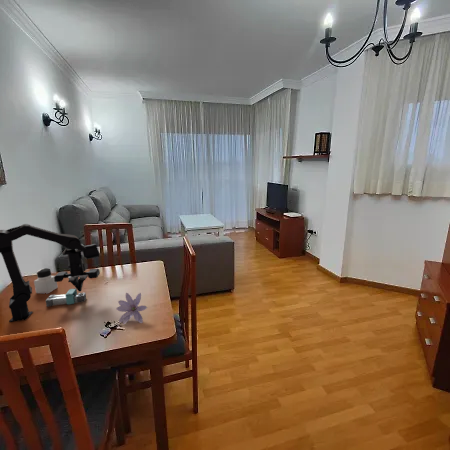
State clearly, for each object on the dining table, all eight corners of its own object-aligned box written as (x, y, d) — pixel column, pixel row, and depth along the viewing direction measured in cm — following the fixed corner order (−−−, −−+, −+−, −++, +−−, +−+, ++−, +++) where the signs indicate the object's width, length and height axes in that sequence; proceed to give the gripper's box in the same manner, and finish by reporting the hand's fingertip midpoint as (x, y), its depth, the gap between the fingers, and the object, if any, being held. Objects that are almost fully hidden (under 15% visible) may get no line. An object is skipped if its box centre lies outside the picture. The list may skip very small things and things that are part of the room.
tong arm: (77, 298, 130) (76, 292, 129) (76, 300, 128) (75, 294, 127) (51, 300, 128) (50, 294, 127) (49, 302, 126) (48, 297, 125)
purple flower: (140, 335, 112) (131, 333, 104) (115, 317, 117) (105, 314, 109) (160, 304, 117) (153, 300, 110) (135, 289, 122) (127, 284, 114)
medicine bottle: (58, 287, 142) (54, 267, 140) (48, 293, 135) (44, 272, 133) (46, 287, 143) (42, 266, 140) (35, 293, 136) (31, 272, 133)
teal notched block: (77, 297, 130) (76, 288, 129) (73, 303, 125) (72, 293, 123) (71, 298, 130) (69, 289, 128) (66, 304, 124) (65, 294, 123)
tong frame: (86, 298, 130) (85, 292, 129) (83, 302, 126) (82, 296, 125) (50, 302, 127) (49, 296, 126) (46, 306, 123) (45, 300, 122)
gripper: (100, 254, 133) (104, 282, 137) (60, 257, 129) (65, 285, 133) (94, 261, 123) (98, 291, 126) (51, 265, 119) (56, 296, 122)
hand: (80, 291), depth 127 cm, fingers closed
